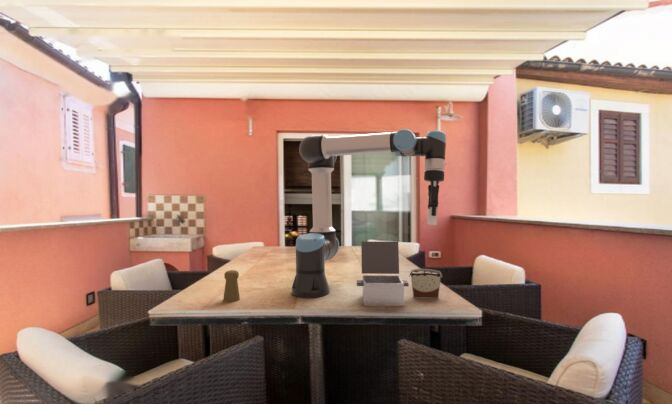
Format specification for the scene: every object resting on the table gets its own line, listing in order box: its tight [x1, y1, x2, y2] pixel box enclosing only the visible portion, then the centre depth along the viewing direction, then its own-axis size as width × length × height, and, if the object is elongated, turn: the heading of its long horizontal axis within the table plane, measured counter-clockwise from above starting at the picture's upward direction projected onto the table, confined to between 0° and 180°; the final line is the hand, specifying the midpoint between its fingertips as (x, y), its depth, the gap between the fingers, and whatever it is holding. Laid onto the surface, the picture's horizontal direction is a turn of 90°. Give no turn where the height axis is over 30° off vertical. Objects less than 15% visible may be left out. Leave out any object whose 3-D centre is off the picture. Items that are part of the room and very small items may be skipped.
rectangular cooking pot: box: [356, 274, 410, 307], centre depth 119 cm, size 19×12×8 cm, turn 88°
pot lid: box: [360, 241, 400, 275], centre depth 126 cm, size 15×12×1 cm
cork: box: [222, 269, 241, 303], centre depth 121 cm, size 6×6×11 cm
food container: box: [408, 268, 443, 299], centre depth 125 cm, size 12×6×10 cm, turn 84°
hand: (431, 225), depth 124 cm, fingers open, 13 cm apart
